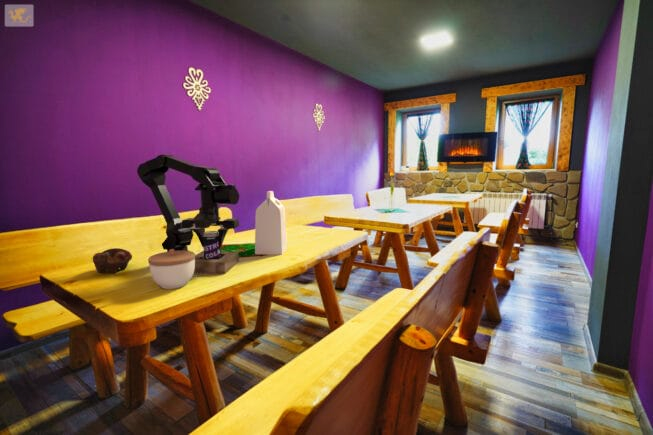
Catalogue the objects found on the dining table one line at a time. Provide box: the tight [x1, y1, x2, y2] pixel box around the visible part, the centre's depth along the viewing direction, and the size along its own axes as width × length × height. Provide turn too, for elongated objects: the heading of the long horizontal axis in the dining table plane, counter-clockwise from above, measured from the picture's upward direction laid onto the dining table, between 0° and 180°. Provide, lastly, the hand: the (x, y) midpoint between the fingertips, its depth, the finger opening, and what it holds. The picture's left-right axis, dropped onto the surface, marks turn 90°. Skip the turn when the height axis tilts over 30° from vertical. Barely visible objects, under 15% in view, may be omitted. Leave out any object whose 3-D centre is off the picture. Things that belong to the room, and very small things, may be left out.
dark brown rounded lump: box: [92, 247, 133, 274], centre depth 104 cm, size 10×15×8 cm, turn 0°
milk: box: [254, 190, 288, 256], centre depth 130 cm, size 12×12×26 cm
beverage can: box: [202, 230, 222, 260], centre depth 108 cm, size 6×6×12 cm
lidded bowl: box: [147, 249, 196, 290], centre depth 91 cm, size 13×13×11 cm
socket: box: [194, 250, 240, 275], centre depth 108 cm, size 14×14×4 cm
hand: (211, 247), depth 108 cm, fingers closed on beverage can, 6 cm apart
